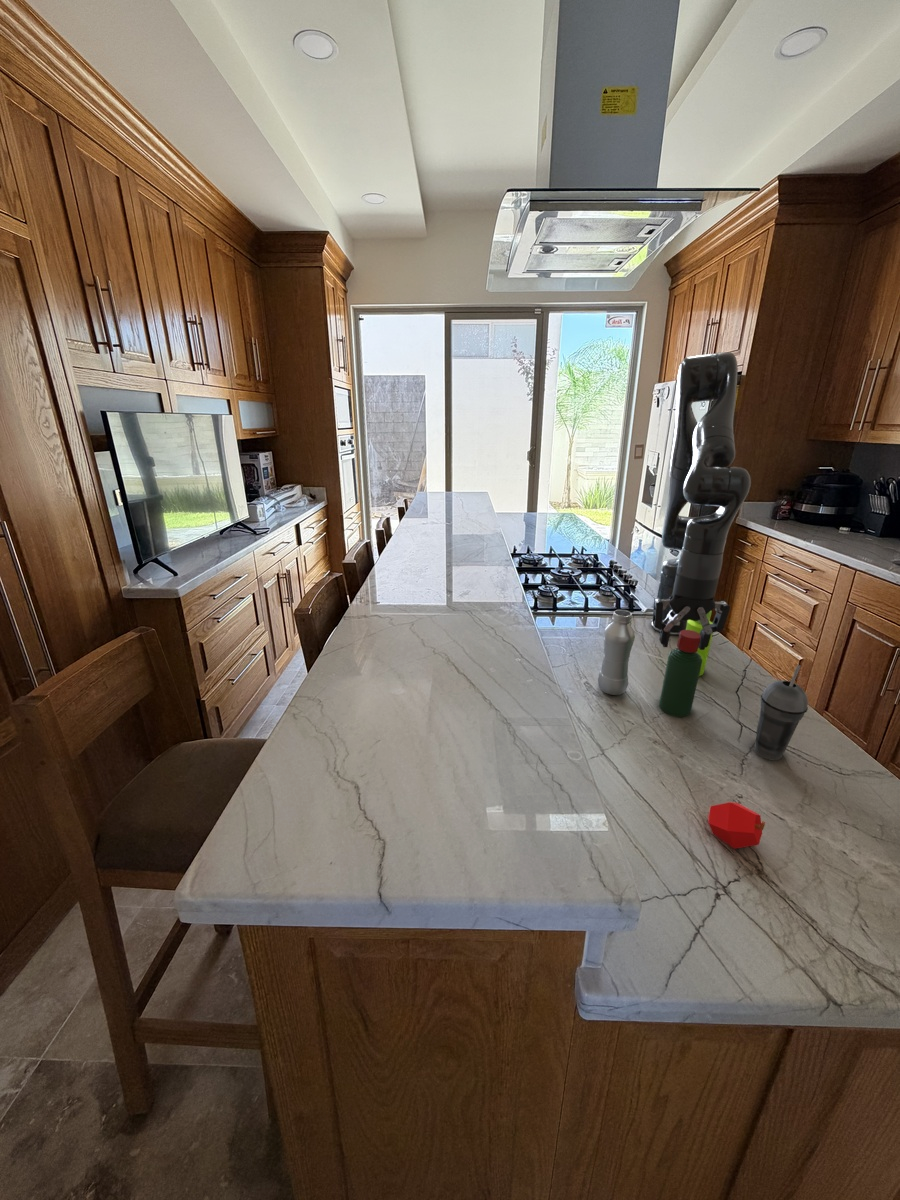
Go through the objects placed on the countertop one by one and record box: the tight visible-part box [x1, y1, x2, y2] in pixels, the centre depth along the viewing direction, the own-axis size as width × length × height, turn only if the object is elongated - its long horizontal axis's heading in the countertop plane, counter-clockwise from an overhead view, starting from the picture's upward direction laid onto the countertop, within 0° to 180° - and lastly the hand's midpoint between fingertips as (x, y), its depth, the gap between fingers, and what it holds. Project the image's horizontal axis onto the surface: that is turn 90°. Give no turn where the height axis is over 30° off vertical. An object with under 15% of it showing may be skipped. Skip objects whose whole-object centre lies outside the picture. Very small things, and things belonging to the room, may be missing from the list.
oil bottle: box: [658, 647, 702, 718], centre depth 103 cm, size 6×6×18 cm
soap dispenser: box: [686, 610, 714, 677], centre depth 117 cm, size 6×7×20 cm
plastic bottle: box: [597, 609, 636, 696], centre depth 109 cm, size 6×7×20 cm
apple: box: [707, 801, 766, 850], centre depth 74 cm, size 7×7×8 cm
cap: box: [676, 630, 701, 653], centre depth 100 cm, size 4×4×3 cm
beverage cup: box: [754, 664, 809, 761], centre depth 89 cm, size 7×7×20 cm
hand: (682, 646), depth 101 cm, fingers open, 6 cm apart
